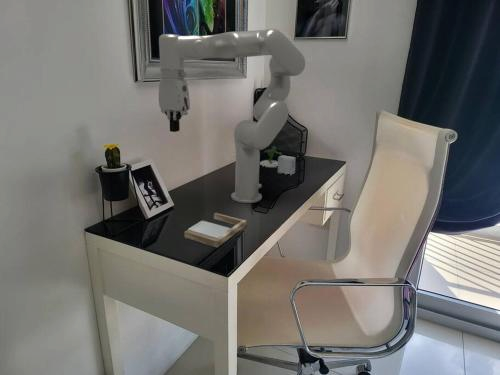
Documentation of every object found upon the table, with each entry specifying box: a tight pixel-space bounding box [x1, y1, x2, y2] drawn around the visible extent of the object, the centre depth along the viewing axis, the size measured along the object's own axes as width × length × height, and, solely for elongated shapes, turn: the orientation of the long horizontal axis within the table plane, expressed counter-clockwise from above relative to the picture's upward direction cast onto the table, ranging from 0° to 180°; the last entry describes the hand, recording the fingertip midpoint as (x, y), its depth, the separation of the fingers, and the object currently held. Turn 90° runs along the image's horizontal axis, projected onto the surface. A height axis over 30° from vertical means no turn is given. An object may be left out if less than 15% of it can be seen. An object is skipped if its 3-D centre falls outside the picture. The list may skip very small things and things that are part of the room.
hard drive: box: [187, 220, 232, 239], centre depth 111 cm, size 2×8×12 cm
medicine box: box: [277, 154, 297, 176], centre depth 175 cm, size 8×4×9 cm, turn 58°
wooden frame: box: [184, 212, 247, 248], centre depth 111 cm, size 17×12×2 cm
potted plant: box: [259, 145, 284, 168], centre depth 190 cm, size 12×12×10 cm
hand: (174, 131), depth 118 cm, fingers closed
